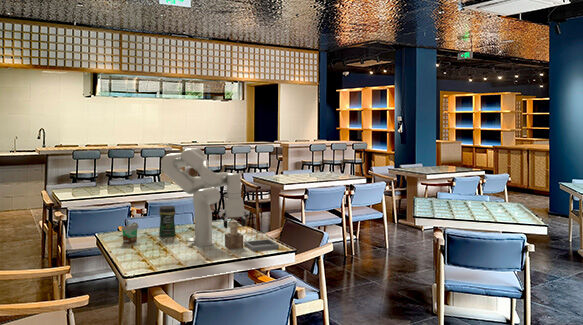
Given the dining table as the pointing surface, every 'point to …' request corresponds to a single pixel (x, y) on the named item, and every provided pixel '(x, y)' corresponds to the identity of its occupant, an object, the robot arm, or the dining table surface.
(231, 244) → the brown wooden cube
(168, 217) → the coffee jar
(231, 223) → the beech pin
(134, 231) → the food container
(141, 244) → the dining table surface
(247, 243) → the charcoal tray
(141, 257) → the dining table surface
